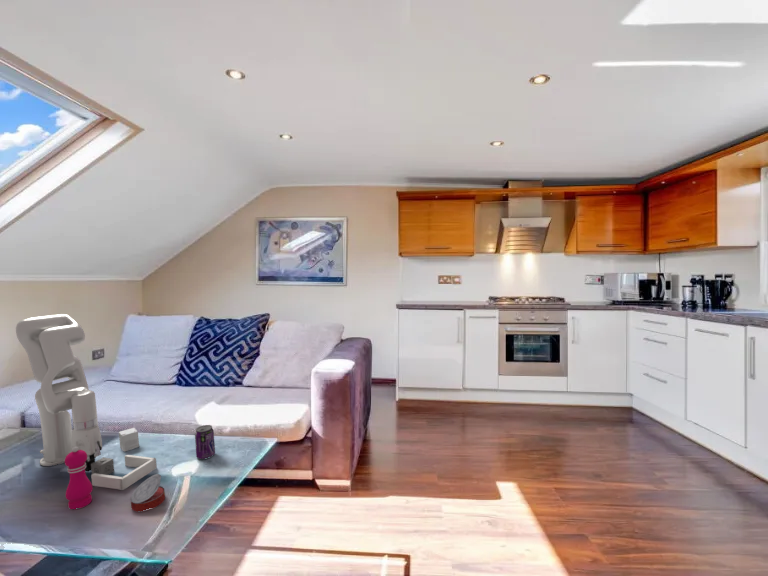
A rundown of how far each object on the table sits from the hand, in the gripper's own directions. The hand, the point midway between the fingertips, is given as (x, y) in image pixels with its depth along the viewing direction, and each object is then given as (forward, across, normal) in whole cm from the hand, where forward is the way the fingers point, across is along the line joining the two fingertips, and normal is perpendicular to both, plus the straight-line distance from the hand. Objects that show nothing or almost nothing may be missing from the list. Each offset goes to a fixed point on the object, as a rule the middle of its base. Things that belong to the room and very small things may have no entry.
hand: (90, 469), depth 154 cm
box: (+1, +16, +1) cm, 16 cm away
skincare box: (+2, -3, +20) cm, 20 cm away
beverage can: (+2, +36, +20) cm, 41 cm away
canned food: (+2, +38, -11) cm, 40 cm away
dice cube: (+2, +6, 0) cm, 6 cm away
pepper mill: (+2, +16, -16) cm, 23 cm away
